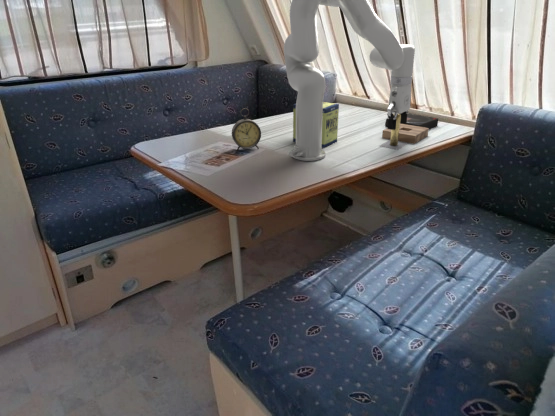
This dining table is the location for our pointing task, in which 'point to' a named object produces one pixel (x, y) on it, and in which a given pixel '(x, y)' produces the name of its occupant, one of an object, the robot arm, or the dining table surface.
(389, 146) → the mat
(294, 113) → the protein box
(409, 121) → the portable cd player
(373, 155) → the dining table surface
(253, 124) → the alarm clock
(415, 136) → the block
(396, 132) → the pin
